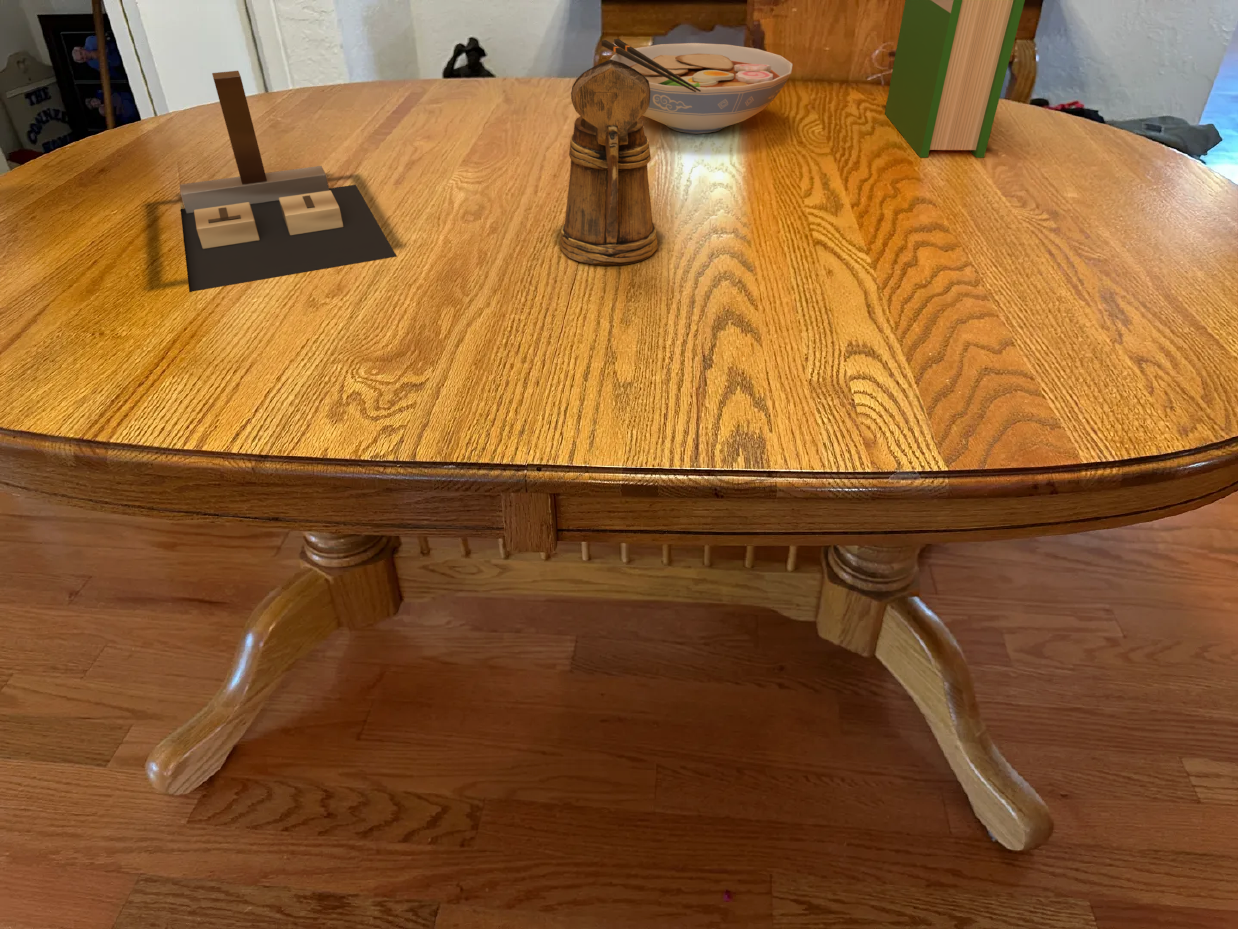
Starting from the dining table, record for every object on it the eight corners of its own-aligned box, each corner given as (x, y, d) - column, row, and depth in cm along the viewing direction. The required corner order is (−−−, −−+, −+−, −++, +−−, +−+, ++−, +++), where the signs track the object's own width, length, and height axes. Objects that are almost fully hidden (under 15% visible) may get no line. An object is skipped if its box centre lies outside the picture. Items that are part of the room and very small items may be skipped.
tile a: (199, 229, 82) (193, 208, 81) (254, 221, 84) (249, 200, 82) (203, 249, 78) (196, 227, 77) (260, 240, 80) (254, 218, 79)
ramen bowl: (826, 143, 103) (837, 70, 98) (652, 167, 96) (654, 90, 91) (730, 92, 121) (735, 28, 116) (578, 108, 114) (576, 42, 109)
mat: (153, 214, 85) (153, 213, 85) (356, 185, 92) (355, 184, 92) (157, 298, 71) (156, 296, 71) (396, 257, 77) (396, 255, 77)
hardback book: (984, 157, 99) (1047, -89, 84) (919, 157, 99) (972, -89, 84) (940, 113, 113) (989, -104, 98) (884, 113, 113) (924, -104, 98)
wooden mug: (557, 291, 72) (547, 60, 61) (561, 228, 82) (552, 21, 71) (663, 290, 72) (672, 59, 61) (653, 226, 83) (659, 20, 72)
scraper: (185, 203, 87) (145, 78, 80) (325, 183, 92) (300, 63, 84) (186, 213, 85) (145, 85, 78) (330, 193, 90) (304, 70, 82)
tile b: (283, 217, 84) (278, 196, 83) (334, 209, 86) (330, 188, 85) (290, 235, 81) (284, 214, 80) (343, 227, 82) (339, 206, 81)
